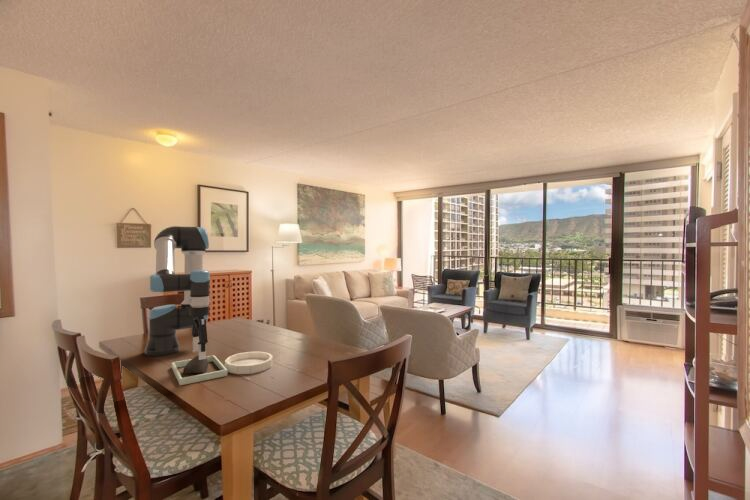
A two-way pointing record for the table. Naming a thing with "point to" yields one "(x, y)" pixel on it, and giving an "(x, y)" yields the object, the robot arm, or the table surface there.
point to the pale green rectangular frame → (202, 376)
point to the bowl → (248, 362)
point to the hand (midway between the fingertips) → (199, 355)
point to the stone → (196, 366)
